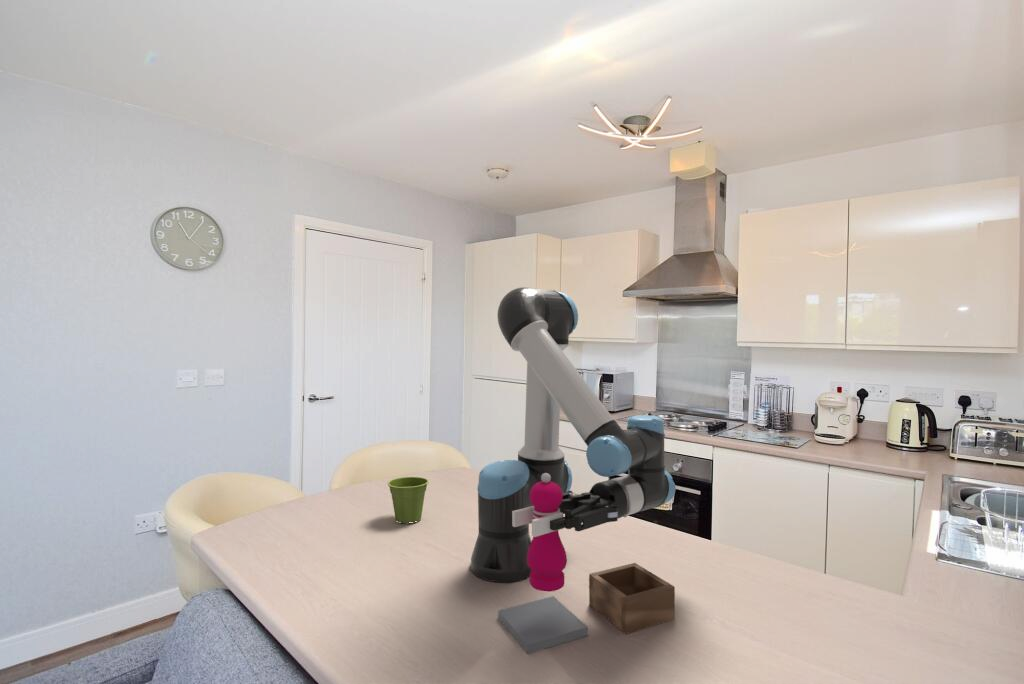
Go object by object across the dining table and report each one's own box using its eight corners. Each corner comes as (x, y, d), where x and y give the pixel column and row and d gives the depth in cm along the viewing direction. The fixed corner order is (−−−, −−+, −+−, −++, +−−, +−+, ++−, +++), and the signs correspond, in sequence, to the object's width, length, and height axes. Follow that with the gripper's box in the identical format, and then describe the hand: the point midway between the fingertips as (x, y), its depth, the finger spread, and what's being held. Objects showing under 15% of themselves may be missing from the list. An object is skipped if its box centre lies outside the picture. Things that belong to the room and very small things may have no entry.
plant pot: (437, 517, 150) (437, 479, 150) (409, 530, 140) (408, 489, 140) (407, 510, 156) (407, 474, 156) (378, 522, 146) (378, 483, 146)
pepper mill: (540, 597, 87) (538, 480, 87) (520, 579, 94) (518, 471, 94) (575, 587, 90) (573, 475, 90) (553, 571, 97) (552, 466, 97)
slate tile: (498, 618, 96) (498, 610, 96) (553, 603, 101) (553, 596, 101) (527, 653, 85) (527, 644, 85) (587, 635, 90) (587, 626, 90)
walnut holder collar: (589, 604, 101) (589, 573, 101) (634, 591, 106) (634, 562, 106) (626, 634, 90) (625, 600, 90) (674, 618, 95) (674, 586, 95)
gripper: (651, 530, 95) (557, 562, 82) (583, 505, 110) (494, 530, 96) (650, 490, 95) (556, 516, 82) (583, 471, 110) (494, 490, 96)
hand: (523, 523), depth 89 cm, fingers closed on pepper mill, 5 cm apart
